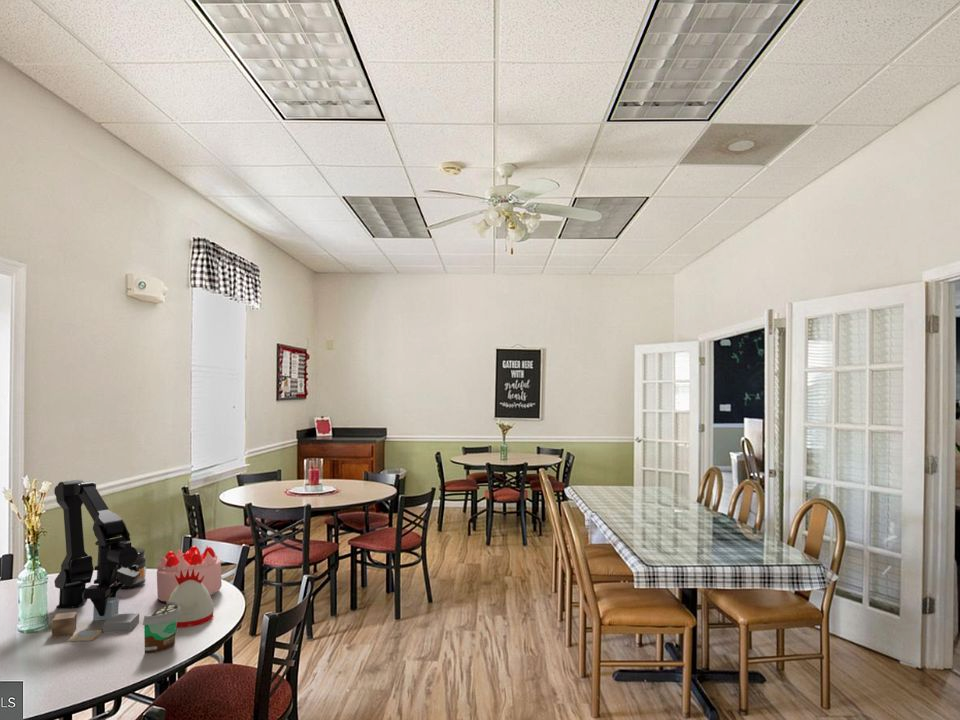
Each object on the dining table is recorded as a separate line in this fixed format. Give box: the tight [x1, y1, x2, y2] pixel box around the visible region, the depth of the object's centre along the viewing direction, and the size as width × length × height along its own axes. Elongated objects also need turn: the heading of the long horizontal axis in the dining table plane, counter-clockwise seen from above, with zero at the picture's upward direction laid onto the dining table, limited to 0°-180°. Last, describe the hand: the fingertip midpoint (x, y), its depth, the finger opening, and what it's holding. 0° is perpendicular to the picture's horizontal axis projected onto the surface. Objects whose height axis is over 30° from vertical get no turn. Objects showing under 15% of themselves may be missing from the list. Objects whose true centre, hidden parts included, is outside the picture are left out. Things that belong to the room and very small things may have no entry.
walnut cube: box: [51, 611, 78, 639], centre depth 174 cm, size 5×5×5 cm
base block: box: [103, 612, 140, 634], centre depth 180 cm, size 7×7×3 cm
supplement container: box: [118, 547, 148, 591], centre depth 216 cm, size 10×10×12 cm
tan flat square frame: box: [68, 629, 103, 642], centre depth 173 cm, size 6×6×1 cm
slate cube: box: [92, 596, 120, 621], centre depth 187 cm, size 5×5×5 cm
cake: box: [156, 545, 223, 603], centre depth 208 cm, size 20×20×14 cm
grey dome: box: [168, 569, 214, 629], centre depth 187 cm, size 14×14×15 cm
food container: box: [142, 602, 181, 654], centre depth 168 cm, size 12×6×10 cm, turn 179°
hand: (106, 612), depth 187 cm, fingers closed on slate cube, 5 cm apart
